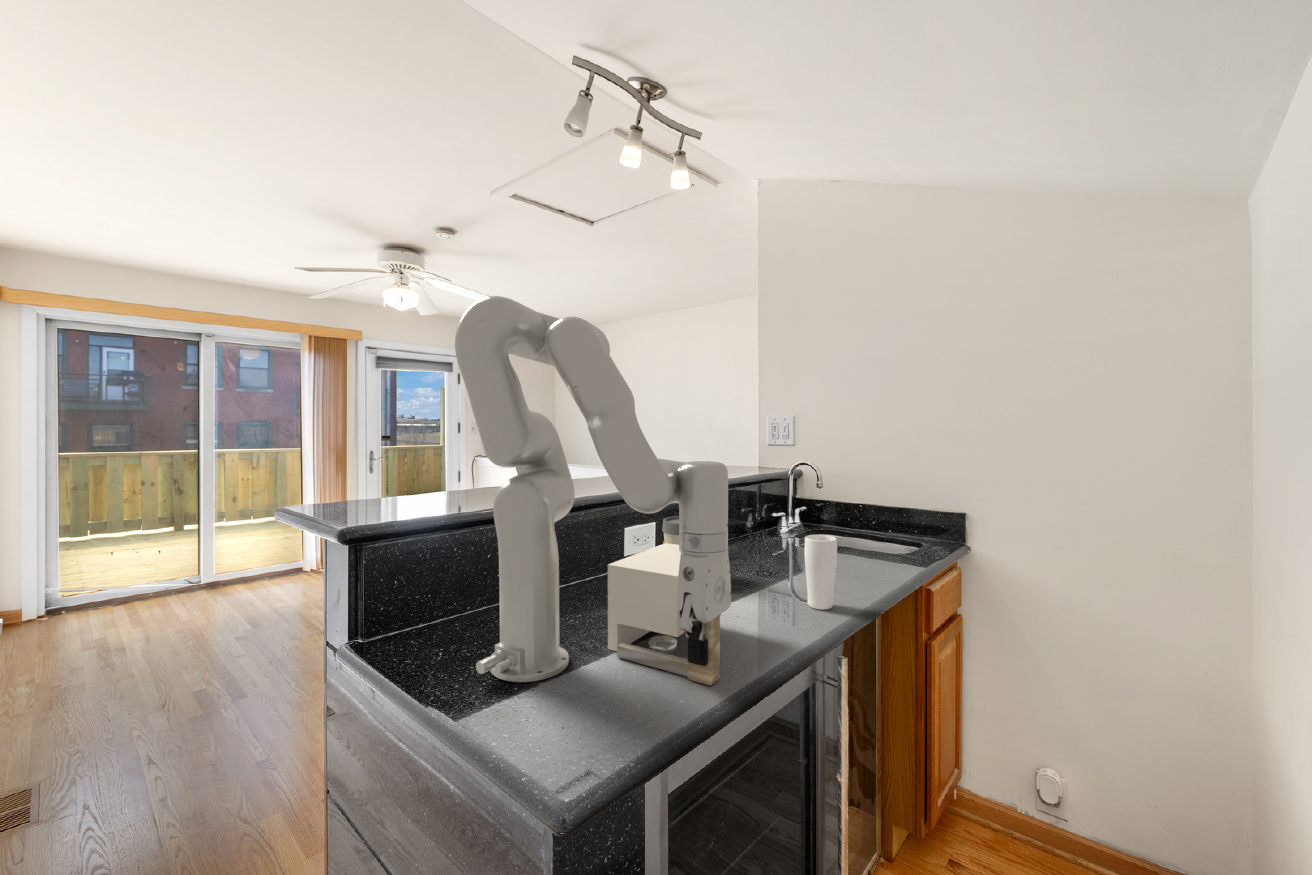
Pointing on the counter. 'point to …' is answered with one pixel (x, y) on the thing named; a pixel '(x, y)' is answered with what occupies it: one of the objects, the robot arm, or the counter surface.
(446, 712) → the counter surface
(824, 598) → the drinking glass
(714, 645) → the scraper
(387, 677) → the counter surface
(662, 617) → the cabinet
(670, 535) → the reusable coffee cup
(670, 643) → the ball
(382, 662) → the counter surface
